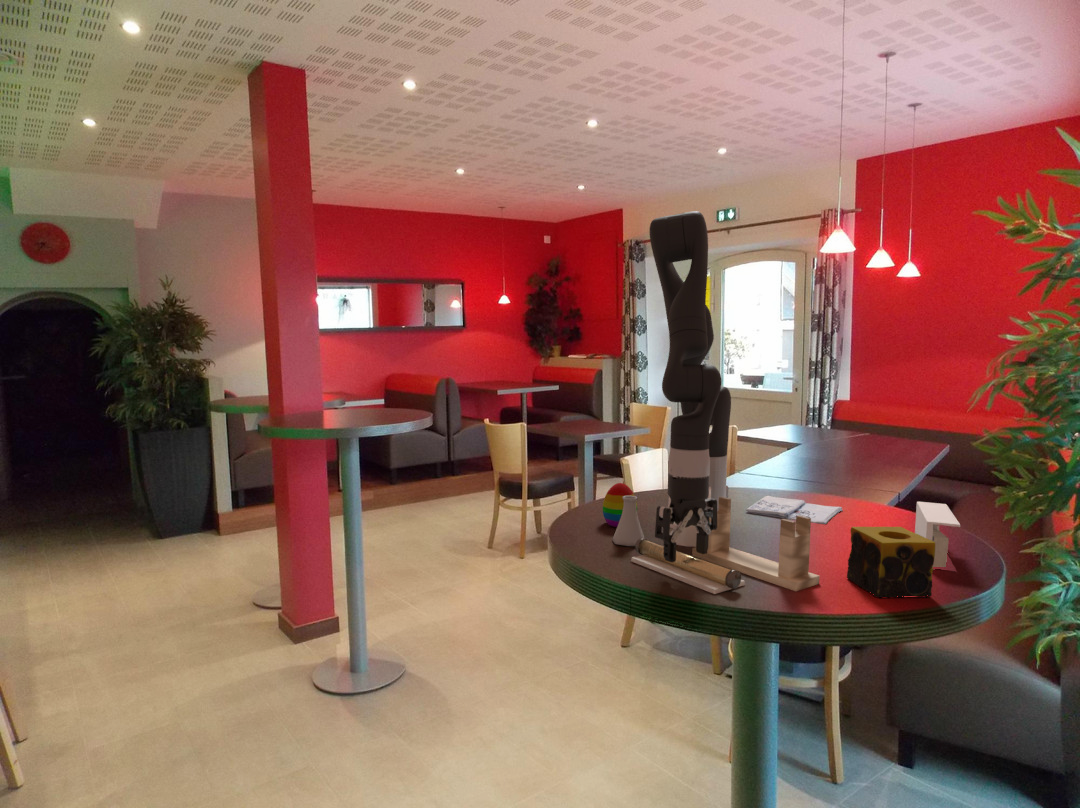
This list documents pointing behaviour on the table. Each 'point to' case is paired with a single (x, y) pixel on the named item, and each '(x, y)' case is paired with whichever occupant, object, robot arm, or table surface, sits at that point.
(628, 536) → the flask
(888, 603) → the table surface
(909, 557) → the yellow cube with hole
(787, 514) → the open book
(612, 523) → the decorative egg
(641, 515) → the table surface
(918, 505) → the white angled piece
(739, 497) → the table surface
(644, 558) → the grey mat
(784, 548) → the rail stand
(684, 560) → the brass rail
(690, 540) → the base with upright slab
